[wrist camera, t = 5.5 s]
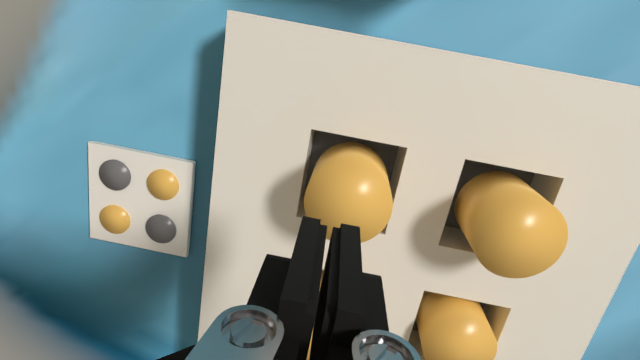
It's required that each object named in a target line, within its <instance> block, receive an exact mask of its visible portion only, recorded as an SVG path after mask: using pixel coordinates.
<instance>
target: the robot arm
mask: <svg viewBox="0 0 640 360" xmlns="http://www.w3.org/2000/svg"><path fill="white" fill-rule="evenodd" d="M320 223H321V219H316V218H311V217H306V216H303V217H302V221H301V224H300V228H299V232H298V235H297V239H296V242H295V246H294V250H293V253H292V257H291V258H286V257H281V256H276V255H271V254H267V255H266V257H265V259H264V262H263V264H262V267H261V269H260V272H259V274H258V277H257V279H256V282H255V284H254V287H253V289H252V292H251V294H250V297H249V299H248V302H247V304H246V305H239V306H234V307H231V308H229V309H227V310H225V311H223V312H222V313H221V314H220V315H218V316H217V317H216V319H215V320H214V321H213V323H212V324H211V325H210V327H209V328H208V329H207V331H206V332H205V333H204V335H203V336H202V337H201V339H200V340H199V341H198V343H197V344H196V345H193V346H190V347H188V348H185V349H183V350H180V351H178V352H175V353H172V354H170V355H167V356H165V357H162V358H160V359H157V360H306V359H307V355H308V350H309V345H310V340H311V336H312V342H311V349H310V357H309V360H421V358H420V356H419V354H418V353H417V351H416V349H415V348H414V347H413V346H412V345H411V344H410V343H409V342H408V341H406V340H405V339H403V338H402V337H400V336H399V335H396V334H394V333H391V332H389V327H388V320H387V313H386V305H385V298H384V291H383V284H382V278H381V276H380V275H374V274H369V273H364V272H362V255H361V238H360V227H358V226H353V225H348V224H342V223H341V225H340V228H337V227H333V229H332V234H331V238H330V243H329V248H328V253H327V258H326V262H325V267H324V272H323V277H322V282H321V274H322V266H323V257H324V249H325V241H326V233H327V225H321V224H320ZM320 282H321V287H320ZM319 290H320V291H319ZM312 331H313V334H312Z"/></svg>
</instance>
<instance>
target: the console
mask: <svg viewBox="0 0 640 360" xmlns="http://www.w3.org/2000/svg"><path fill="white" fill-rule="evenodd" d="M345 142H354V143H360V144H363V145H366V146H368V147H369V148H371V149H373V150H374V151H375V152H376V153H377V154H378V155H379V156H380V157H381V159H382V160H383V162H384V164H385V167H386V171H387V175H388V180H389V184H390V189H391V193H392V199H393V209H392V214H391V217H390V220H389V222H388V224H387V225H386V226H385V228H384V229H383V230H382V231H381V232H380V233H379V234H378V235H377V236H375V237H374V238H372V239H370V240H368V241H366V242H363V243H361V255H362V272H364V273H369V274H374V275H380V276H381V278H382V284H383V291H384V298H385V305H386V313H387V320H388V327H389V332H391V333H394V334H396V335H399V336H400V337H402V338H403V339H405V340H406V341H408V342H409V343H410V344H411V345H412V346H413V347H414V348H415V349H416V351H417V353H418V354H419V356H420V358H421V360H425V358H424V355H423V351H422V346H421V341H420V336H419V331H418V327H417V322H416V315H417V312H418V309H419V305H420V302H421V299H422V296H423V293H424V291H429V292H434V293H439V294H443V295H448V296H453V297H458V298H463V299H468V300H472V301H477V302H479V303H480V305H481V307H482V310H483V312H484V314H485V316H486V318H487V320H488V322H489V325H490V327H491V329H492V331H493V333H494V335H495V338H496V340H497V353H496V356H495V358H494V360H581V358H582V356H583V354H584V352H585V350H586V348H587V346H588V344H589V342H590V340H591V338H592V336H593V334H594V332H595V330H596V328H597V326H598V324H599V322H600V320H601V318H602V316H603V314H604V312H605V310H606V308H607V306H608V304H609V302H610V300H611V299H612V297H613V295H614V293H615V291H616V289H617V287H618V285H619V283H620V281H621V279H622V277H623V275H624V273H625V271H626V269H627V267H628V265H629V263H630V261H631V259H632V257H633V255H634V253H635V251H636V249H637V247H638V245H639V243H640V87H639V86H634V85H629V84H623V83H618V82H613V81H607V80H602V79H596V78H591V77H586V76H580V75H575V74H570V73H564V72H559V71H554V70H548V69H543V68H537V67H532V66H527V65H521V64H516V63H511V62H505V61H500V60H495V59H489V58H484V57H479V56H473V55H468V54H462V53H457V52H452V51H446V50H441V49H436V48H430V47H425V46H420V45H414V44H409V43H404V42H398V41H393V40H387V39H382V38H377V37H371V36H366V35H361V34H355V33H350V32H345V31H339V30H334V29H329V28H323V27H318V26H312V25H307V24H302V23H296V22H291V21H286V20H280V19H275V18H270V17H264V16H259V15H254V14H248V13H243V12H237V11H232V10H228V11H227V22H226V33H225V45H224V56H223V67H222V78H221V89H220V100H219V111H218V122H217V133H216V144H215V155H214V166H213V177H212V188H211V199H210V210H209V221H208V233H207V244H206V255H205V266H204V277H203V288H202V299H201V310H200V321H199V332H198V341H199V340H200V339H201V337H202V336H203V335H204V333H205V332H206V331H207V329H208V328H209V327H210V325H211V324H212V323H213V321H214V320H215V319H216V317H217V316H218V315H220V314H221V313H222V312H223V311H225V310H227V309H229V308H231V307H234V306H239V305H246V304H247V302H248V299H249V297H250V294H251V292H252V289H253V287H254V284H255V282H256V279H257V277H258V274H259V272H260V269H261V267H262V264H263V262H264V259H265V257H266V255H267V254H271V255H276V256H281V257H286V258H291V257H292V253H293V250H294V246H295V242H296V239H297V235H298V232H299V228H300V224H301V221H302V217H303V216H306V214H305V209H304V196H305V192H306V189H307V186H308V183H309V181H310V178H311V175H312V173H313V170H314V167H315V165H316V162H317V161H318V159H319V157H320V156H321V155H322V154H323V153H324V152H325V151H326V150H327V149H329V148H330V147H332V146H334V145H337V144H340V143H345ZM491 171H503V172H508V173H511V174H514V175H516V176H517V177H519V178H520V179H522V180H523V181H524V182H525V183H527V184H528V185H529V186H530V187H531V188H533V189H534V190H535V191H536V192H537V193H539V194H540V195H541V196H542V197H544V198H545V199H546V200H547V201H548V202H550V203H551V204H552V205H553V206H555V207H556V208H557V209H558V210H559V211H560V212H561V214H562V215H563V216H564V218H565V221H566V223H567V227H568V240H567V244H566V247H565V250H564V251H563V253H562V255H561V256H560V258H559V259H558V260H557V261H556V262H555V263H554V264H553V265H552V266H551V267H549V268H548V269H546V270H545V271H543V272H541V273H539V274H537V275H534V276H530V277H526V278H505V277H502V276H498V275H496V274H494V273H492V272H490V271H489V270H487V269H486V268H485V267H484V266H483V265H482V264H481V263H480V262H479V260H478V258H477V257H476V255H475V253H474V251H473V249H472V248H471V246H470V244H469V242H468V240H467V239H466V237H465V235H464V233H463V231H462V230H461V228H460V226H459V224H458V222H457V220H456V217H455V212H454V206H455V201H456V198H457V195H458V193H459V192H460V190H461V189H462V187H463V186H464V185H465V184H466V183H467V182H468V181H470V180H471V179H472V178H474V177H476V176H478V175H480V174H483V173H486V172H491ZM329 243H330V240H328V239H326V241H325V249H324V257H323V266H322V269H323V270H324V267H325V262H326V258H327V253H328V248H329Z"/></svg>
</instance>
